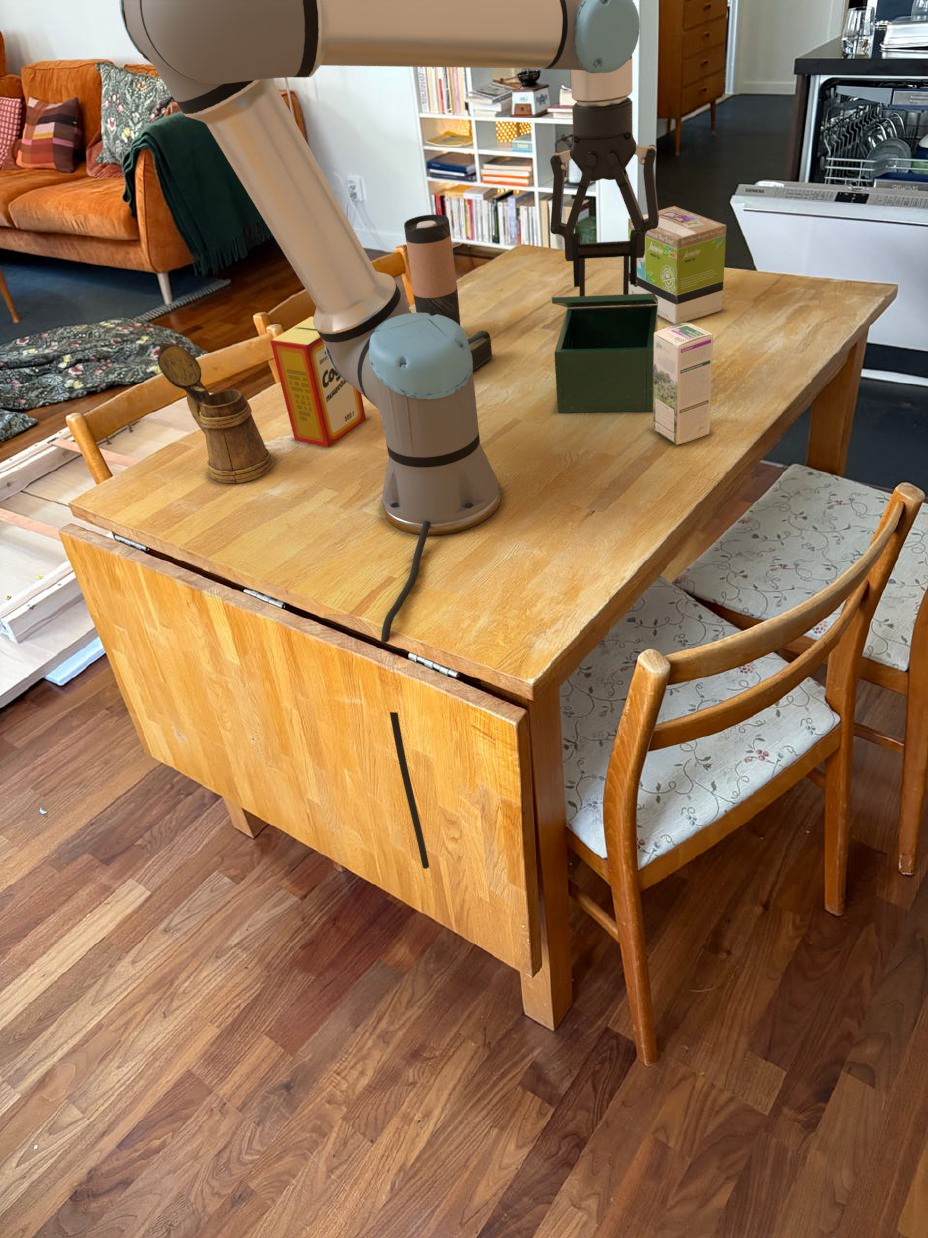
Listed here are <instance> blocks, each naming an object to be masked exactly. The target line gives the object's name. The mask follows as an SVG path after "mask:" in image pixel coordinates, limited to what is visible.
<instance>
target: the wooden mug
mask: <svg viewBox="0 0 928 1238" xmlns="http://www.w3.org/2000/svg"><path fill="white" fill-rule="evenodd" d="M157 365H158V368H159V370H160V371H161V373H162V375H163V376H164V377H165V378H166V380H167V381H168V383H170V384H171V385H173V386H174V387H176V388H178V389H182V390H183V391H185V393H186V402H187V406H188V409H189V412H190V413H191V415H192V417H193V419H194V421H195V422H196V424H197V426H198V427H199V428H200V430H201V432H203V434H204V435H205V436H204V437H205V442H206V443H205V444H206V448H207V455H208V460H207V461H206V462H207V467H208V468H207V469H208V473H209V476H210V477H211V478H212V479H213V480H214V481H216V482H219V483H221V484H242V483H245V482H249V481H252V480H256V479H258V478H259V477H262V476H263V475H265V474H266V473H268V472H269V471H270V470H271V469H272V467H273V465H274V460H273V459H274V458H273V456H272V455H271V452H270V451H269V449H268V448H267V447H266V444H265V442H264V440H263V438H262V436H261V433H260V431H259V428H258V426H257V424H256V422H255V419H254V416H253V415H252V411H253V410H252V407H251V405H250V403H249V401H248V399H246V398H245V396H244V394H243V392H242V391H241V390H239V389H236V388H227V389H223V390H219V391H216V392H213V393H211V394H210V393H209V390H208V389H207V388H206V386H204V384H203V383H202V381H201V379H202V368H201V366H200V364H199V362H198V360H197V359H196V358H195V356H194V355H193V354H192V353H191V352H190V351H188V350H187V348H184V347H182V346H180V345H178V344H173V343H164V342H161V344H160V347H159V351H158V354H157Z"/></svg>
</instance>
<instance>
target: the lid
mask: <svg viewBox="0 0 928 1238" xmlns="http://www.w3.org/2000/svg"><path fill="white" fill-rule="evenodd" d="M629 256H630V241H628V240H619V241H618V240H615V241H600V242H599V241H597V242H596V241H595V242H580V243H579V244H578V258H579V259H580V287H578V288H579V290H578V291H579V292H578V294H579V295H578V296H577V295H576V296H575V295H574V296H554V297H551V304H553V305H556V306H560V307H563V308H566V309H567V308H585V307H611V306H637V305H654V304H658V299H657V297H656V296H655V294H654V293H649V294H629ZM603 258H604V259H606V258H609V259H610V258H623V279H622V280H623V284H622V287H623V288H622V294H603V295H602V294H601V295H586V260H587V259H603Z"/></svg>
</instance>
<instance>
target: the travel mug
mask: <svg viewBox="0 0 928 1238" xmlns="http://www.w3.org/2000/svg"><path fill="white" fill-rule="evenodd" d="M403 228H404V236H405V243H406V252H407V258H408V259H407V260H408V266H409V273H410V283H411V288H412V289H411V290H412V296H413V300H414V301H413V302H414V307H415V313H429V314H430V316H434V315H437V314H438V315H442V316H445V317H447V318H449V319H451V320H453V321H455V322H456V323H457V324H458V325H460V327H461V326H462V325H461V316H460V315H461V314H460V305H459V291H458V290H459V289H458V283H457V281H458V280H457V274H456V265H455V258H454V249H453V241H452V233H451V225H450V219H449V217H448V216H447V215H444V214H424V215H418V216H415V217H412V218H410V219H408V220H406V221H405V222H404V224H403ZM461 328H462V327H461Z"/></svg>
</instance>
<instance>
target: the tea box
mask: <svg viewBox="0 0 928 1238" xmlns="http://www.w3.org/2000/svg"><path fill="white" fill-rule="evenodd" d="M658 213H659V223H658V227H657V228H656V229H651V230H649V231H647V232H646V233H645V254H644V257H643V258H637V280H636V285H630V256H629V294H649V293H654V294H655V296H656V297H657V299H658V304H654V305H658V316H660V317H661V318H663V319H665V320H667V321H668V322H670V323H672V324H673V325H676V324H680V323H684V322H689V321H693V320H696V319H700V318H703V317H705V316H709V315H712V314H714V313H718V312H721V311H722V310H723V299H724V281H725V280H724V279H725V262H726V261H725V260H726V245H727V244H726V243H727V241H726V239H727V224H724V223H721V222H718V221H716V220H713V219H711V218H708V217H705V216H702V215H700V214H696V213H694V212H691V211H689V210H686V209H683V208H680V207H678V206H676V205H673V206H669V207H666V208H663V209H658ZM642 216H643V218H644V219H647V218H648V213H646V214H642ZM631 230H635V229H634V226H633V224H632V221H631V218H628V219H627V235H628V236H627V237H628V239H627V241H630V234H631Z"/></svg>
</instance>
